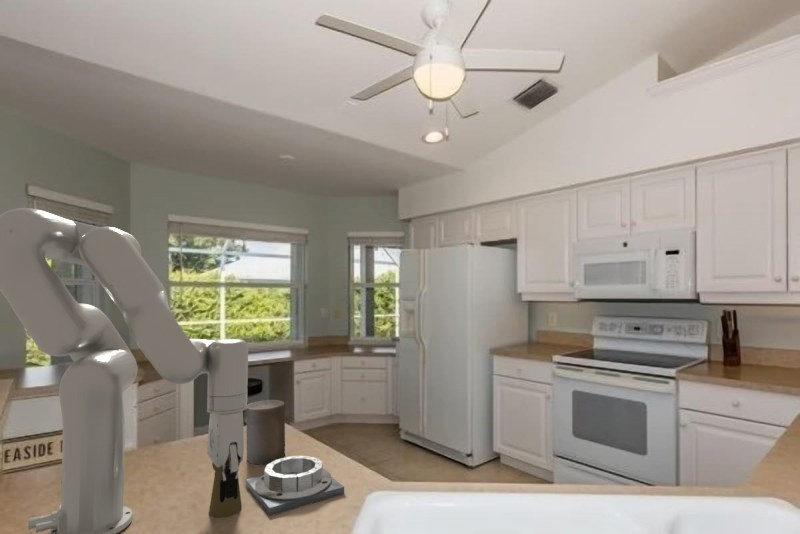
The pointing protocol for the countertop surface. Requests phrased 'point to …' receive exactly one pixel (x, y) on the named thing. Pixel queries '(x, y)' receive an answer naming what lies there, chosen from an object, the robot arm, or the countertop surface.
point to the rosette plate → (293, 484)
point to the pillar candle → (265, 431)
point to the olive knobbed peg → (229, 504)
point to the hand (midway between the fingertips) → (225, 494)
